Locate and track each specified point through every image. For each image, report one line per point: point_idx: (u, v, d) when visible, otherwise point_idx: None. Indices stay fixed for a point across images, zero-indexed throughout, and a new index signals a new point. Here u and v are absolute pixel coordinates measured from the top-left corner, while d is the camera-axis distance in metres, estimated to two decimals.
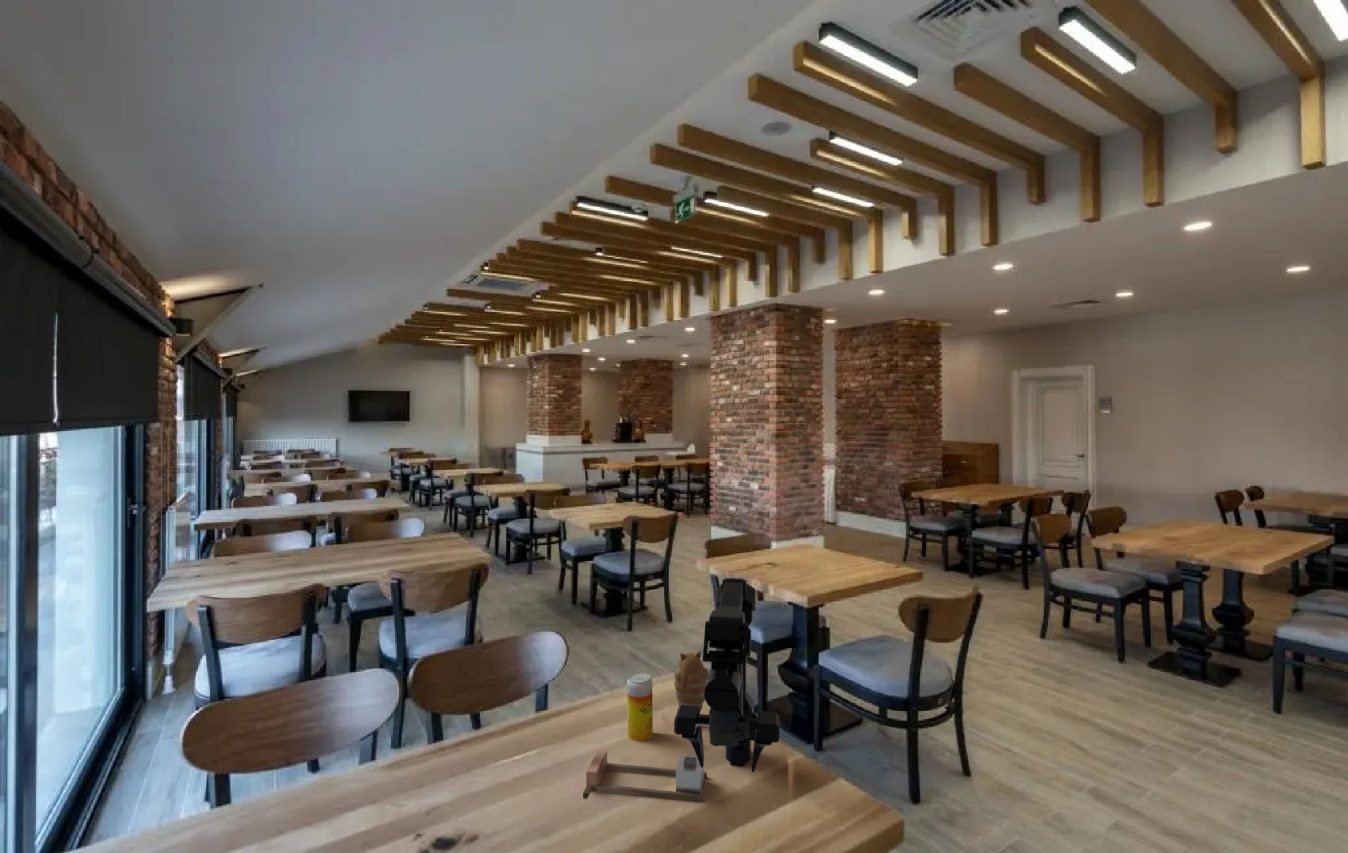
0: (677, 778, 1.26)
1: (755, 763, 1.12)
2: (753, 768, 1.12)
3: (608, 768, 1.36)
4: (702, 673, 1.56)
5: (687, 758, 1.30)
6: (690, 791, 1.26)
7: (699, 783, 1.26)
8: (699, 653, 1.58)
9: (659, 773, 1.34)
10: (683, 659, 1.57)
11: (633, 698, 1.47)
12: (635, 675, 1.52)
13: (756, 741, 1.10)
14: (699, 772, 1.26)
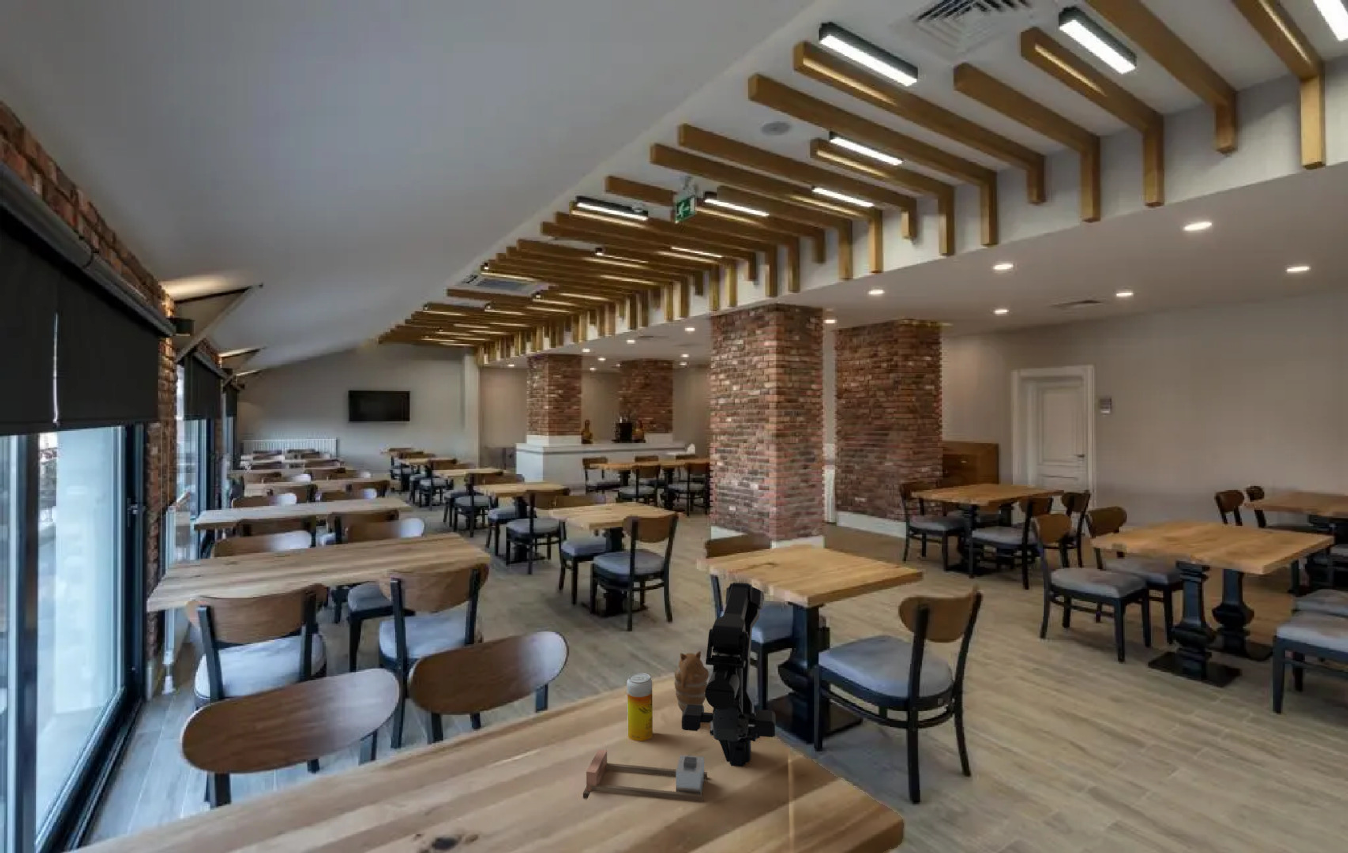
0: (677, 778, 1.26)
1: (732, 754, 1.27)
2: (730, 758, 1.27)
3: (608, 768, 1.36)
4: (702, 673, 1.56)
5: (687, 758, 1.30)
6: (690, 791, 1.26)
7: (699, 783, 1.26)
8: (699, 653, 1.58)
9: (659, 773, 1.34)
10: (683, 659, 1.57)
11: (633, 698, 1.47)
12: (635, 675, 1.52)
13: None
14: (699, 772, 1.26)
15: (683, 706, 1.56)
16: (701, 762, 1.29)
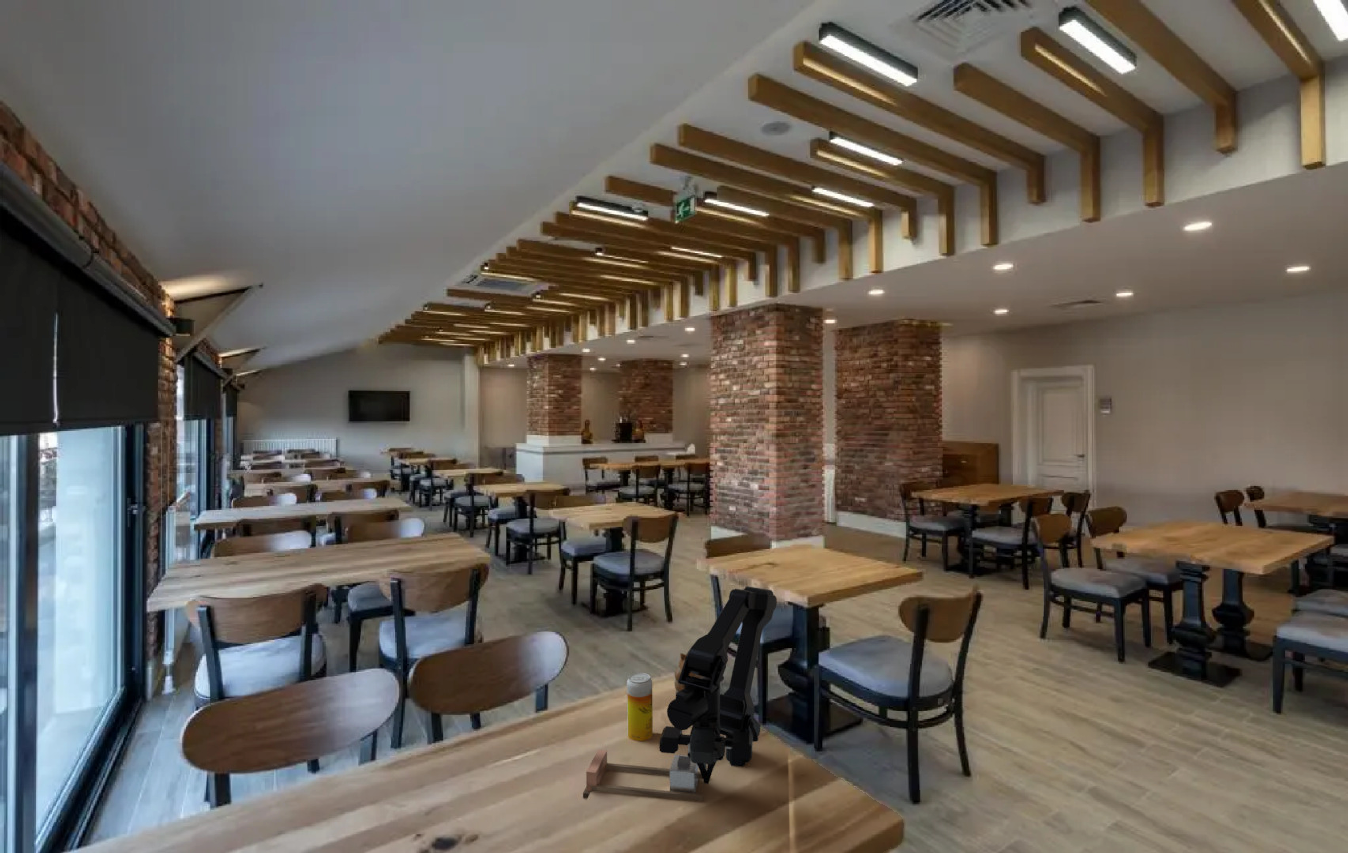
0: (671, 778, 1.27)
1: (709, 776, 1.27)
2: (707, 780, 1.28)
3: (608, 768, 1.36)
4: None
5: (681, 757, 1.30)
6: (684, 790, 1.26)
7: (693, 782, 1.26)
8: None
9: (659, 773, 1.34)
10: (683, 659, 1.57)
11: (633, 698, 1.47)
12: (635, 675, 1.52)
13: None
14: (693, 771, 1.26)
15: None
16: None
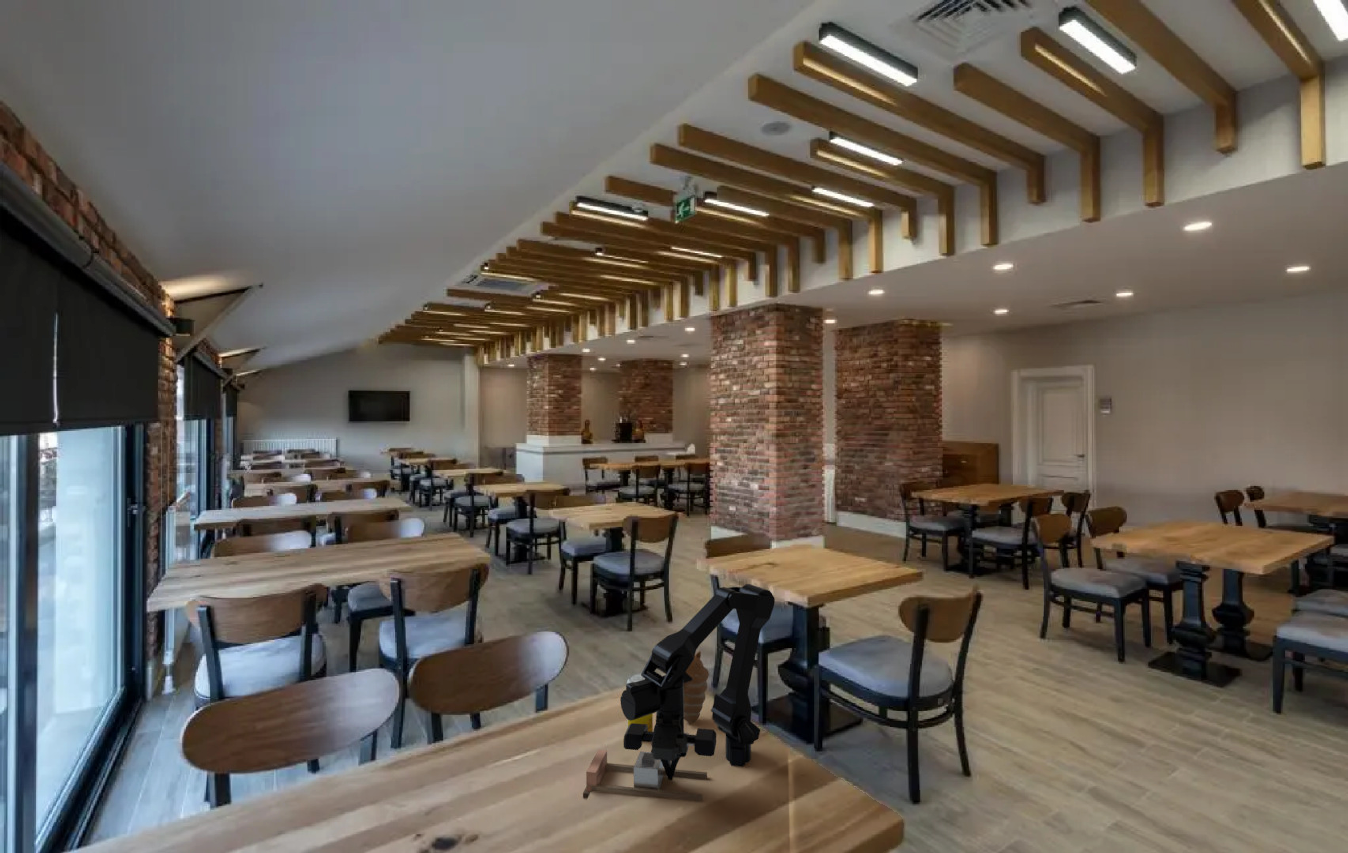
0: (635, 774, 1.28)
1: (673, 772, 1.29)
2: (671, 777, 1.29)
3: (608, 768, 1.36)
4: (702, 673, 1.56)
5: (646, 754, 1.31)
6: (648, 786, 1.28)
7: (656, 779, 1.27)
8: (699, 653, 1.58)
9: None
10: None
11: None
12: (635, 675, 1.52)
13: None
14: (656, 768, 1.27)
15: None
16: None
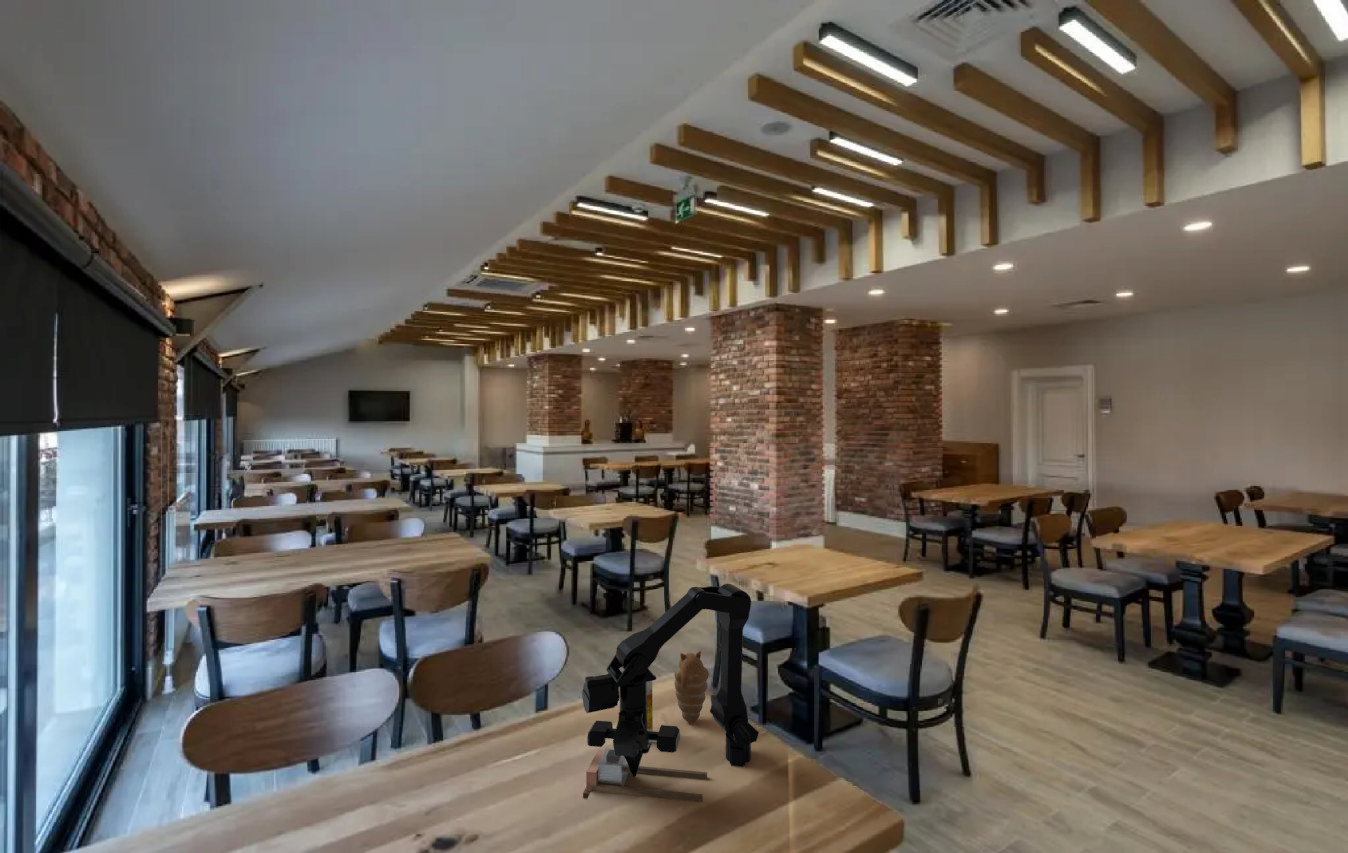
0: (599, 771, 1.29)
1: (636, 769, 1.30)
2: (634, 773, 1.30)
3: None
4: (702, 673, 1.56)
5: (611, 751, 1.32)
6: (612, 783, 1.29)
7: (620, 775, 1.29)
8: (699, 653, 1.58)
9: (659, 773, 1.34)
10: (683, 659, 1.57)
11: None
12: None
13: None
14: (620, 765, 1.29)
15: (683, 706, 1.56)
16: None
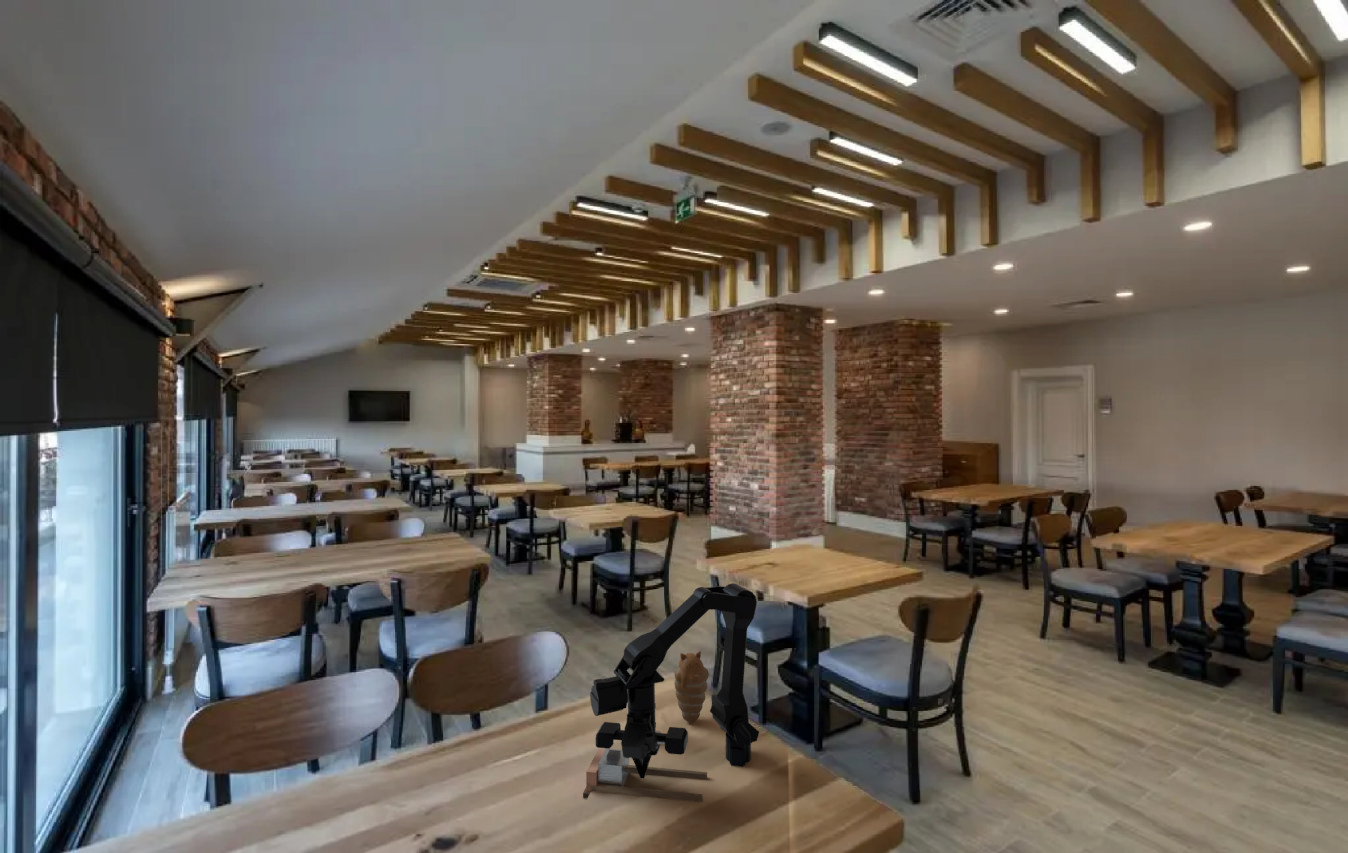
0: (600, 771, 1.29)
1: (644, 770, 1.30)
2: (643, 775, 1.30)
3: None
4: (702, 673, 1.56)
5: (611, 751, 1.32)
6: (612, 783, 1.29)
7: (620, 775, 1.29)
8: (699, 653, 1.58)
9: (659, 773, 1.34)
10: (683, 659, 1.57)
11: None
12: None
13: None
14: (620, 765, 1.29)
15: (683, 706, 1.56)
16: None
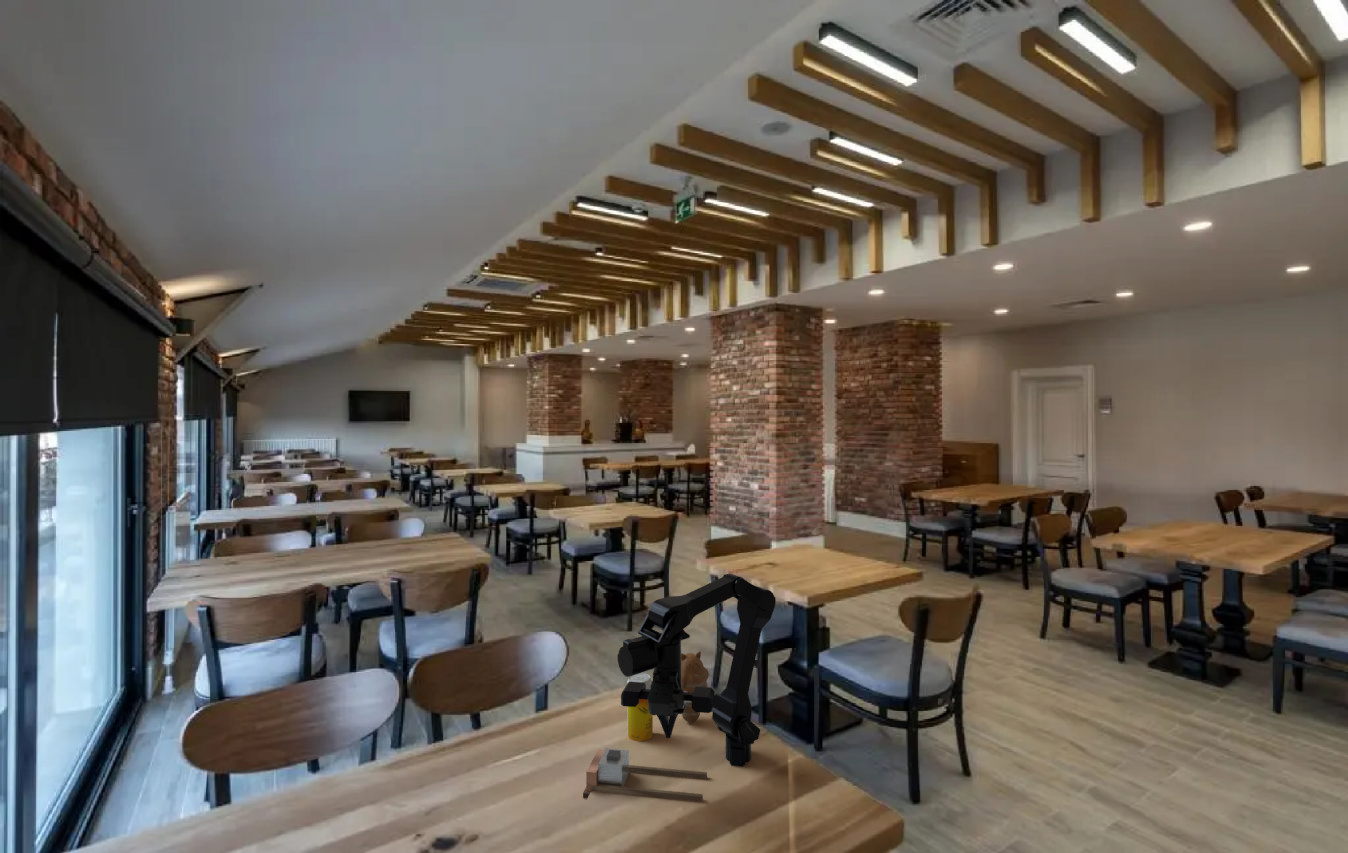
0: (600, 771, 1.29)
1: (671, 730, 1.28)
2: (669, 734, 1.28)
3: None
4: (702, 673, 1.56)
5: (611, 751, 1.32)
6: (612, 783, 1.29)
7: (620, 775, 1.29)
8: (699, 653, 1.58)
9: (659, 773, 1.34)
10: (683, 659, 1.57)
11: None
12: (635, 675, 1.52)
13: None
14: (620, 765, 1.29)
15: None
16: (625, 755, 1.32)
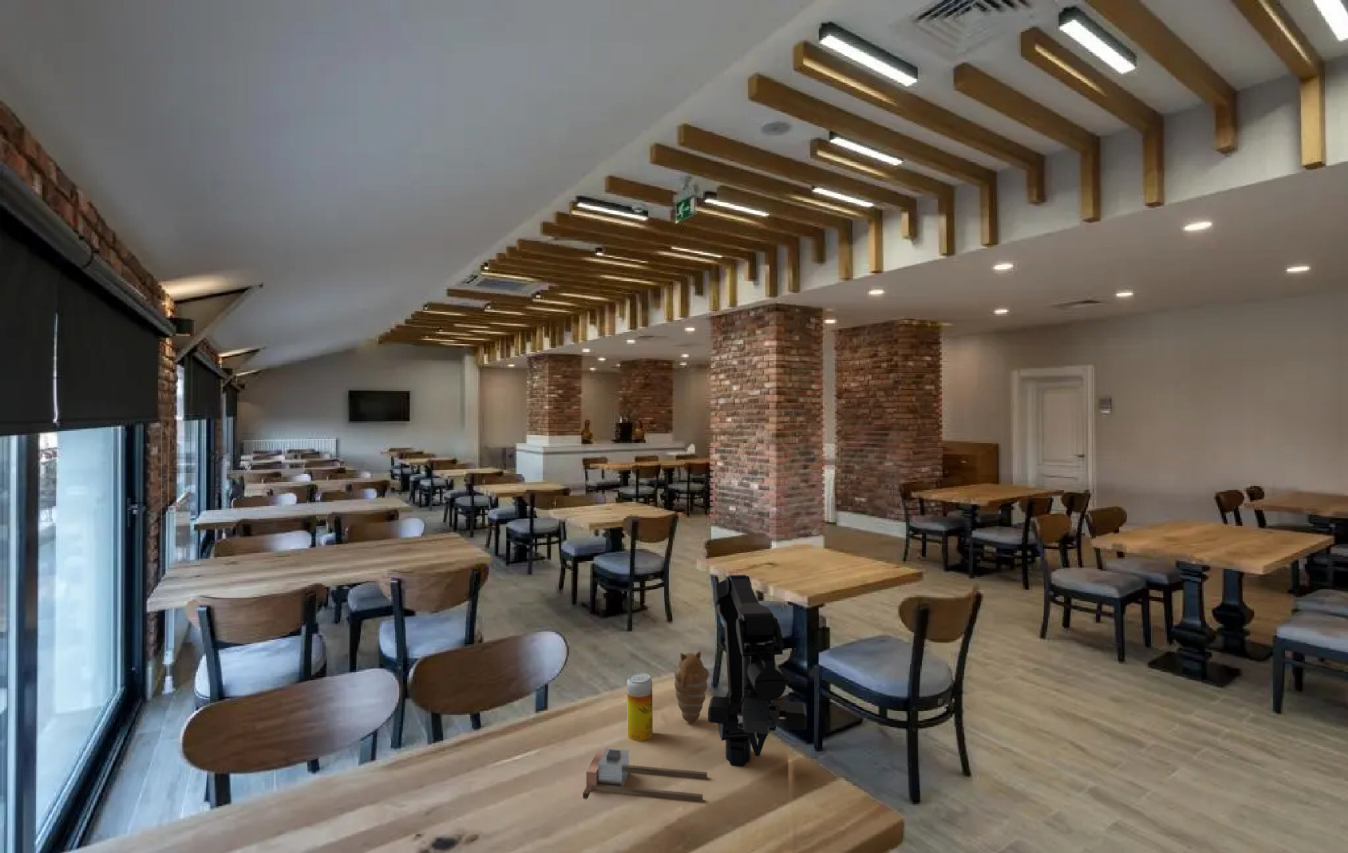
0: (600, 771, 1.29)
1: (760, 748, 1.20)
2: (759, 753, 1.21)
3: None
4: (702, 673, 1.56)
5: (611, 751, 1.32)
6: (612, 783, 1.29)
7: (620, 775, 1.29)
8: (699, 653, 1.58)
9: (659, 773, 1.34)
10: (684, 659, 1.57)
11: (633, 698, 1.47)
12: (635, 675, 1.52)
13: None
14: (620, 765, 1.29)
15: (683, 706, 1.56)
16: (625, 755, 1.32)
